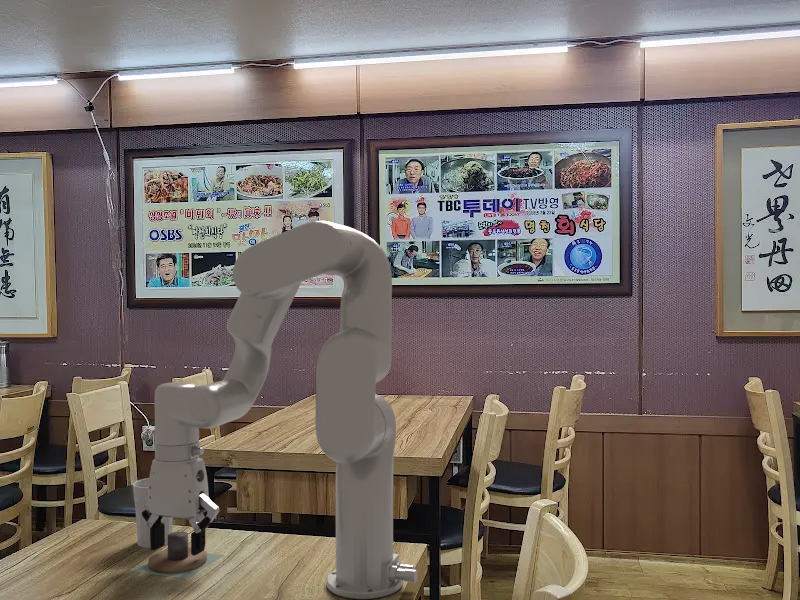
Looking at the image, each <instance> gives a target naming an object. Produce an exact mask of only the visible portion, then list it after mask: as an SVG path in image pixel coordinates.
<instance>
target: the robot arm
mask: <svg viewBox="0 0 800 600" xmlns="http://www.w3.org/2000/svg"><path fill="white" fill-rule="evenodd" d="M322 275H324V276H325V275H326V276H327V275H328V276H336V277H337V276H338V277H340V278H341V279H342V281H343V290H342V292H341V293H342V294H341V297H340V322H339V323H340V326H339V332H337V333H334V334H333V335H332V336H330V337H329V338H328V339H327V340H326V341H325V343H324V344H323V345H322V347H321V349H320V351H319V355H318V357H317V361H316V372H315V373H316V376H315V414H314V415H315V421H314V422H315V423H314V425H315V427H314V428H315V434H316V435H315V436H316V440H317V443H318V446H319V448H320V449H321V451H322V452H323V454H325V455H326V457H328V458H329V459H330V460H332V461H333V462H335V463H336V465H335V466H336V468H335V569H334V570H332V571H331V572H330V573H329V574H328V575H327V577H326V587H327V589H328V590H329V591H330V592H331V593H333V594H335V595H336V596H339V597H342V598H347V599H353V600H354V599H355V600H370V599H371V600H372V599H378V598H383V597H386V596H387V597H388V596H389V595H392V594H394V593H396V592H397V591H398V590H400V589H401V588H402V586H403V585H404V583H403V582H408V583H417V580H418V570H417V569H415V568H416V567H415V565H413V564H402V563H401V562H400V561H399V560H400V559H399V557H400V555H399V553H394V494H393V493H394V457H395V456H394V455H395V446H396V445H395V444H396V437H397V421H396V416H395V413H394V410H393V408H392V406H391V404H390V403H389V402H388V401H387V400H386V399H385V398H384V397H382V396H381V395H379V394H377V393H376V388H377V384H378V383H380V381H382V380H384V379H385V378H386V377H387V375H388V374H389V372H390V370H391V366H392V361H393V360H392V358H393V357H392V356H393V354H392V352H393V351H392V344H393V343H392V342H393V341H392V339H393V338H392V332H393V331H392V330H393V329H392V328H393V314H392V312H393V311H392V309H393V308H392V304H393V303H392V299H393V298H392V296H393V278H392V277H393V276H392V269H391V264H390V261H389V259H388V256H387V254H386V252H385V251H384V249H383V248H382V246H381V245H380V244H379V243H378V242H376V240H375V239H373V238H372V237H370V236H369V235H368V234H366V233H364V232H362V231H359V230H357V229H355V228H352V227H350V226H347V225H343V224H338V223H335V222H332V221H328V220H327V221H326V220H313V221H309V222H308V221H307V222H305V223H303V224H301V225H298V226H295V227H293V228H291V229H289V230H286V231H284V232H281V233H279V234H277V235H274V236H272V237H269V238H267V239H264V240H262V241H260V242H258V243H255V244H252V245H251V246H249V247H248V248H246V249H245V250H243V251H242V252H241V253H240V254H239V256H238V257H237V259H236V260H235V262H234V264H233V269H232V279H233V283H234V285H235V287H236V289H237V290H238V291H239V292H240V294H239V296H238V298H237V300H236V303H235V304H234V307H233V309H232V311H231V313H230V315H229V317H228V319H227V322H226V330H227V331H228V334H230V335H231V336H232V338H233V341H234V346H235V347H234V353H233V358H232V359H231V362H230V365H229V368H228V369H227V372H226V373H225V375H224V377H223V379H222V380H219V381H215V382H210V383H207V384H202V385H201V384H200V385H196V384H195V383H193V382H188V381H175V382H166V383H161V384H159V385H157V387H156V389H155V391H154V459H153V460H152V461H151V462H152V463H151V465H150V471H149V476H148V478H149V488H148V494H147V495H145V496H144V497H143V498H141V499H140V500H139V501H137V506H138V508H139V509H140V511H141V512H142V516H143V518H144V519H145V520H146V522H147V526H148V527H149V528H150V542H151V548H150V550H151V551H156V550H157V549H159V548H161V547H164V546H165V545H164V544H165V525H164V523H161V522H162V520H163V518H164V517H173V519H184V520H188V522H189V524H190V525H191V527H192V529H193V530H192V532H191V534H190V547H191V554H192V555H194V556H195V555H197V554H199V553H201V552H202V551H205V549H206V529H208V528H209V526H210V525H211V524H212V523H213V522H214V520H215V518H216V517H217V515H218V514H219V512H220V508H219V506H218V505H217V504H216V503H215V502H213V501H212V500H211V499H210V497H209V483H208V482H209V481H208V475H207V469H206V465H205V461H204V459H203V458H202V457H200V456H203V454H204V452H205V448H204V447H201V446H200V429H213V428H217V427H219V426H222V425H224V424H226V423H227V424H228V423H230V422H234V421H237V420H239V419H241V418H243V417H244V416H246V414H247V413H248V412H249V411H250V410H251V408H252V407H253V405H254V403H255V401H256V399H257V398H258V396H259V394H260V392H261V390H262V388H263V386H264V384H265V381H266V379H267V376H268V372H269V371H270V370H269V369H270V366H271V364H270V363H271V357H272V346H273V345H272V344H273V342H274V339H275V338H276V336H277V333H278V332H279V330H280V327H281V325H282V323H283V321H284V319H285V318H286V315H287V313H288V311H289V309H290V307H291V305H292V303H293V301H294V298H295V297H296V294H297V293H298V290H299V288H300V286H301V284H302V282H305V281H307V280H311V279H313V278H315V277H319V276H322ZM206 512H207V513H206ZM204 513H206V516H205V514H204ZM163 545H164V546H163Z"/></svg>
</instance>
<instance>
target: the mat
mask: <svg viewBox="0 0 800 600" xmlns="http://www.w3.org/2000/svg"><path fill="white" fill-rule="evenodd" d="M206 553H207V562H206V563H205V564H204V565H203V566H201V567H199V568H197V569H194V570H191V571H187V572H182V573H174V574H163V573H157V572H154V571H151V570H150V569H149V568H148V560H147V561H145V562H143V563H142V564H139V565H138V566H136V567H134V568H132V569H130V570H129V572H132V573H141V574H146V575H154V576H162V577H169V578H176V579H182V580H187V579H189V578H191V577H192V576H193V575H195V574H197V573H198V572H200V571H202V570H203V569H204V568H206V567H208V566H210V565H211V564H212V563H214V562H215V561H217V560H219V559H221V558H222V557H224V554H217V553H209V552H206Z"/></svg>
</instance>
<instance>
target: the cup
mask: <svg viewBox="0 0 800 600" xmlns="http://www.w3.org/2000/svg"><path fill="white" fill-rule="evenodd" d="M148 488H149V477H148V478H143V479H138V480H135V482H133V483H132V491H133V501H134V508H135V509H134V510H135V520H136V533H137V546H138V547H141V548H145V549H151V542H150V528H149V527H148V526H147V522H146V520H145V519H144V518H143V516H142V512H141V511H140V509H139V508H138V506H137V501H139V500H140V499H141V498H143V497H144V496H145V495H147V494H148ZM173 521H174V518H173V517H164V518H163V520H162V522H161V523H164V525H165V544H164V545H163V546H162V547H165V546H168V534H170V533H173V524H174V522H173Z"/></svg>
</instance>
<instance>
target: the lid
mask: <svg viewBox="0 0 800 600" xmlns="http://www.w3.org/2000/svg"><path fill="white" fill-rule="evenodd" d="M207 553H208V552H207V551H205V550H204V551H202V552H201V553H199V554H197V555H195V556H194V555H192V554H191V546H190V547H189V533H188V532H187V531H174V532H173V531H172V533H170V534H168V544H167V549H163V550H161V551H157V552H156V553H154V554H152V555H151V556H150V557H149V558H148V559H147V561H148V568H149V569H150V570H151V571H154V572H157V573H163V574H174V573H182V572H187V571H191V570H194V569H197V568H199V567H201V566H203V565H204V564H205V563H206V562H207Z"/></svg>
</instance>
